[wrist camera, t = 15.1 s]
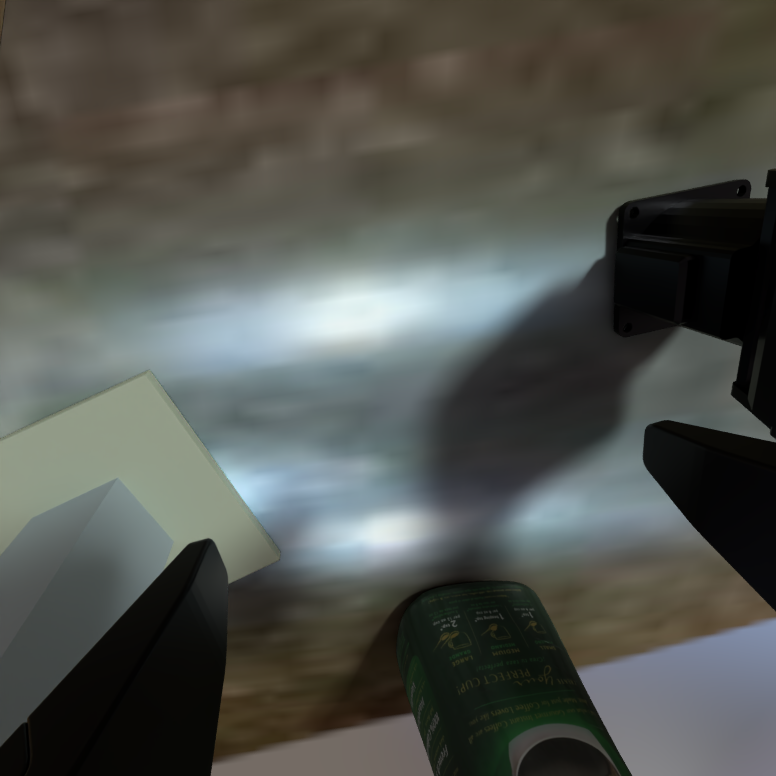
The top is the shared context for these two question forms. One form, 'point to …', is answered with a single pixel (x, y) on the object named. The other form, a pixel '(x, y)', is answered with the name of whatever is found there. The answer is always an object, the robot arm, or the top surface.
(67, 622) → the post
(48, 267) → the top surface
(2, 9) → the pocket
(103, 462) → the mat
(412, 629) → the coffee jar
